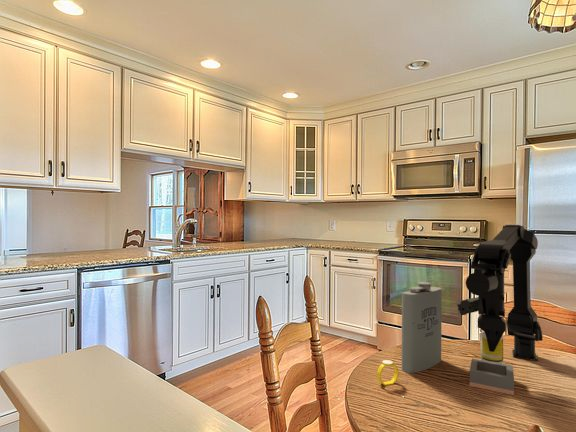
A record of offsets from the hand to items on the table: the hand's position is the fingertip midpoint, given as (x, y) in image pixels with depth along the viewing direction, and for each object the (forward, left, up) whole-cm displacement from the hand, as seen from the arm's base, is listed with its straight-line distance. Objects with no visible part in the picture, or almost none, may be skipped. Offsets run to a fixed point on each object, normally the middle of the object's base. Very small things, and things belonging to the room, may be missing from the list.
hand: (491, 348), depth 99 cm
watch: (+15, -24, -10) cm, 30 cm away
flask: (-3, -18, -10) cm, 21 cm away
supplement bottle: (0, 0, -4) cm, 4 cm away
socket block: (0, 0, -9) cm, 9 cm away
